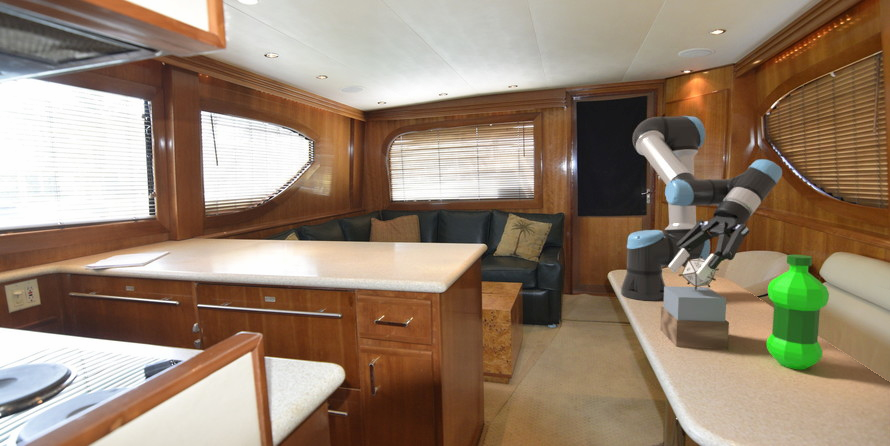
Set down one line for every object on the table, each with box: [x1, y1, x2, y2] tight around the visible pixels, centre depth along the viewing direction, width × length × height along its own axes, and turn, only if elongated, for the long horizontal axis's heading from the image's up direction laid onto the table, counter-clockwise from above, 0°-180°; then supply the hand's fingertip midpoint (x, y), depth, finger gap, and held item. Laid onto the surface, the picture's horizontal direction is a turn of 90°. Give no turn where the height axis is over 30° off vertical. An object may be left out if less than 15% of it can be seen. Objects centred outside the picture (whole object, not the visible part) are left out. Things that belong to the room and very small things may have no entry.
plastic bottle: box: [766, 254, 830, 370], centre depth 97 cm, size 10×10×25 cm
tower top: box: [663, 285, 727, 322], centre depth 113 cm, size 11×11×6 cm
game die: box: [678, 255, 720, 290], centre depth 112 cm, size 9×8×10 cm
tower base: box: [660, 306, 730, 350], centre depth 114 cm, size 12×12×7 cm
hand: (685, 273), depth 112 cm, fingers open, 8 cm apart
